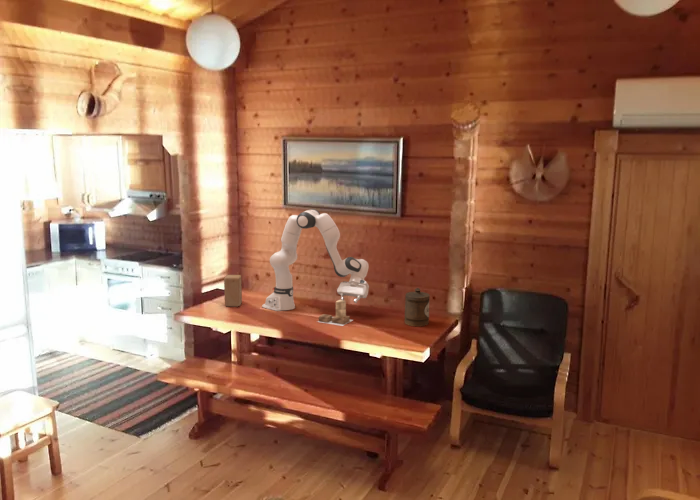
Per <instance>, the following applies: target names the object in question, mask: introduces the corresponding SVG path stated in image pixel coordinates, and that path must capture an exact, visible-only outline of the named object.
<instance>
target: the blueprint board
mask: <svg viewBox="0 0 700 500" xmlns="http://www.w3.org/2000/svg"><path fill="white" fill-rule="evenodd" d="M352 321H354V319H350V321H349V322H347V323H345V324H338V323H332V320H331V321H329V322H321V321H319V320H317V321H316V323H317V322H318V323H320V324H321V323H323V324H328V325H335V326H341V327H343V326H345V325H347V324H350V323H351V322H352Z"/></svg>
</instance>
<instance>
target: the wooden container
mask: <svg viewBox="0 0 700 500" xmlns="http://www.w3.org/2000/svg"><path fill="white" fill-rule="evenodd" d="M430 298H431V297H430V294H429V293H428V292H424V291H421V288H419V287H416V288H415V289H414V291H409V292H406V293H405V300H404V301H405V303H404V304H405V305H404V323H405V325H408V326H410V327H411V326H412V327H425V325H426V326H428V325H429V323H430V322H429V321H430V320H429V319H430Z"/></svg>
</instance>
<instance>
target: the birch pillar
mask: <svg viewBox="0 0 700 500" xmlns="http://www.w3.org/2000/svg"><path fill="white" fill-rule="evenodd" d="M346 310H347V300H345V299H344V300H341V299H338V300H336V301H335V316H336V317H337V318H344V317H346V316H347V311H346Z"/></svg>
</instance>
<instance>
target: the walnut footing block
mask: <svg viewBox="0 0 700 500" xmlns="http://www.w3.org/2000/svg"><path fill="white" fill-rule="evenodd" d="M332 317H333V315H331V314H326V313H323V314H320V315H319V316H318V321H321V322H329V321H331V320H332ZM321 322H320V323H321Z"/></svg>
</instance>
